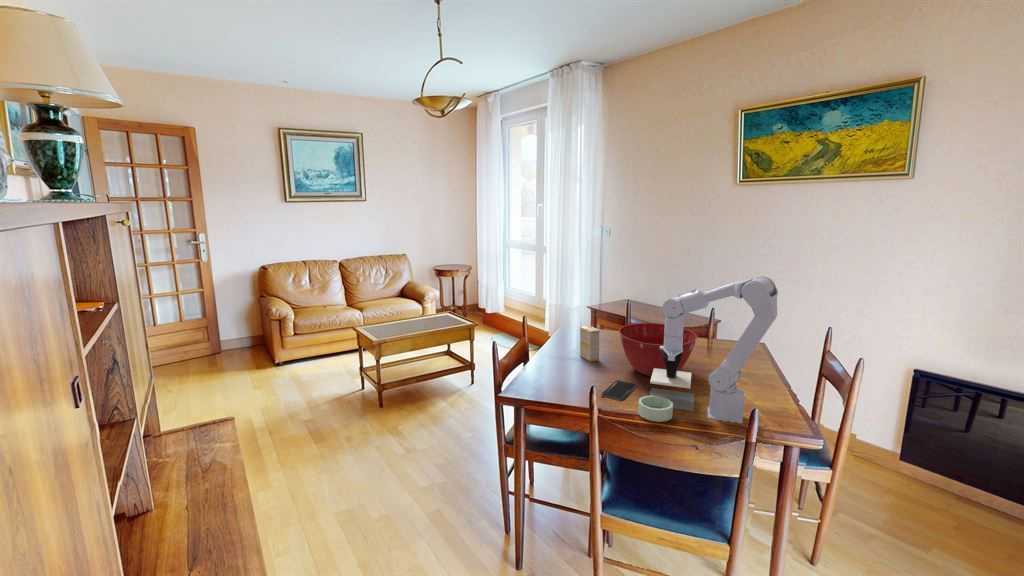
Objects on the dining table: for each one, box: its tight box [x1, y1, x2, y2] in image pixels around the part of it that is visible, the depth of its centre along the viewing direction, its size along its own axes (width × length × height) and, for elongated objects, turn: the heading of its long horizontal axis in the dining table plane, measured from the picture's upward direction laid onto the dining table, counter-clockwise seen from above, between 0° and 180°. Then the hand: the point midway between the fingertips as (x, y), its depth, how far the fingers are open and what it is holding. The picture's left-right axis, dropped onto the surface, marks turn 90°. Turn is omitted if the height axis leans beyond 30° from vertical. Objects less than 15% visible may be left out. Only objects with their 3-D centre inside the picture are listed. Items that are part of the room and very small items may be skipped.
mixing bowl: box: [618, 322, 698, 377], centre depth 178 cm, size 28×28×15 cm
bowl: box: [637, 395, 674, 423], centre depth 143 cm, size 10×10×4 cm
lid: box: [649, 368, 692, 389], centre depth 152 cm, size 12×12×4 cm
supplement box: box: [579, 325, 601, 363], centre depth 194 cm, size 8×5×13 cm, turn 22°
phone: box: [601, 380, 638, 402], centre depth 161 cm, size 8×1×15 cm
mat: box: [648, 387, 695, 412], centre depth 154 cm, size 14×14×1 cm
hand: (671, 374), depth 152 cm, fingers closed on lid, 3 cm apart
